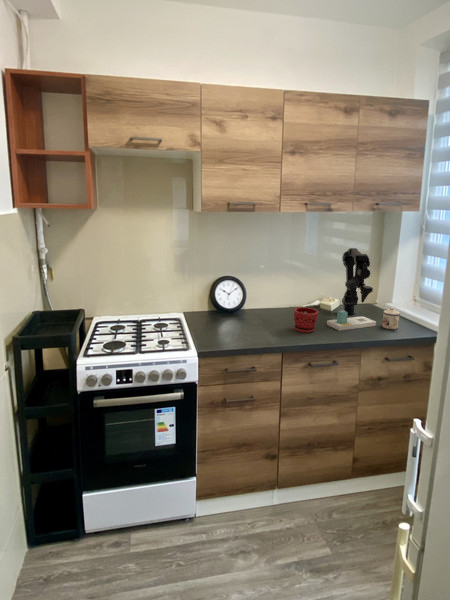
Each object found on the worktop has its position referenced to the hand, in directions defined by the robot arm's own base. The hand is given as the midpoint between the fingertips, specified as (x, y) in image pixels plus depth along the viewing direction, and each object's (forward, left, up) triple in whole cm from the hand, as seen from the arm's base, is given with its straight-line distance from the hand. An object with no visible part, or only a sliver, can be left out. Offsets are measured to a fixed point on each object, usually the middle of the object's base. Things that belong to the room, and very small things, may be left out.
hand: (357, 300), depth 253 cm
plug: (+6, -15, -13) cm, 21 cm away
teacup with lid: (+18, +11, -13) cm, 25 cm away
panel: (+6, -8, -13) cm, 16 cm away
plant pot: (+5, -39, -13) cm, 41 cm away
